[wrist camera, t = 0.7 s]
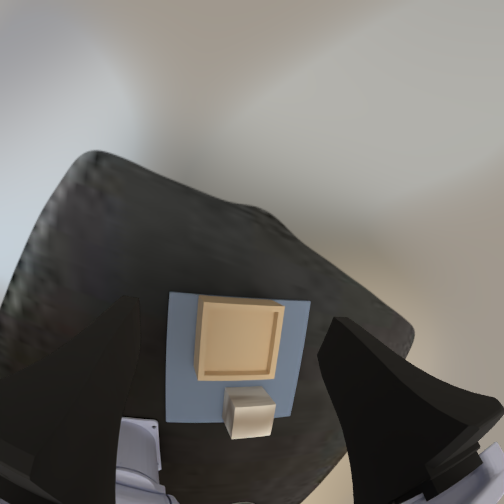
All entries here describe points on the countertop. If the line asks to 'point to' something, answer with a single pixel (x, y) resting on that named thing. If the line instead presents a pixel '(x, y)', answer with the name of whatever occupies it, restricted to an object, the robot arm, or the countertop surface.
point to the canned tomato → (243, 503)
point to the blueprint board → (212, 392)
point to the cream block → (248, 412)
